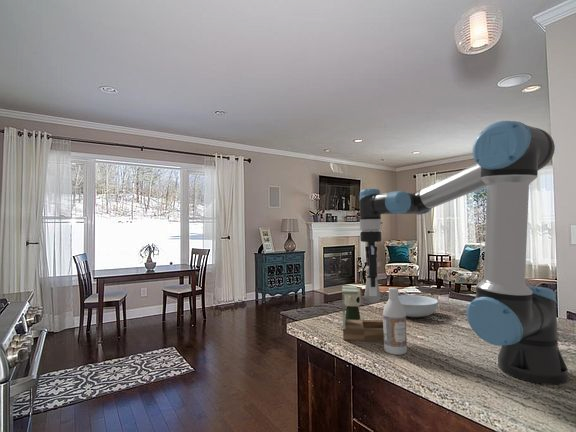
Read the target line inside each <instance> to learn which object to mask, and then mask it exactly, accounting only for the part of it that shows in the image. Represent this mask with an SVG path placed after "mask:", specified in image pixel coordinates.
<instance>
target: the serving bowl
mask: <svg viewBox="0 0 576 432" xmlns="http://www.w3.org/2000/svg"><path fill="white" fill-rule="evenodd" d="M398 299H399V301H400V303H401V304H402V306H403V307H404V310H405V314H406V318H407V317H408V318H423V317H427V316H430V315H432V314H434V313H435V312H436V311H437V309H438V307H439V300H438V299H437V298H434V297H431V296H423V295H414V294H413V295H412V294H411V295H409V294H406V295H405V294H402V295H398ZM388 300H389V298H388ZM388 300H387V301H388Z"/></svg>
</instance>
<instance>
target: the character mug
mask: <svg viewBox="0 0 576 432" xmlns="http://www.w3.org/2000/svg"><path fill="white" fill-rule="evenodd" d="M357 290H358V295H345V319H347V320H361V313H360V309H359V306H361V305H362V304H361V303H362V296H361V293H362V292H361V289H359V288H357Z"/></svg>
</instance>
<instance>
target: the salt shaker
mask: <svg viewBox="0 0 576 432" xmlns="http://www.w3.org/2000/svg"><path fill="white" fill-rule="evenodd" d="M365 272H366V274H367V275H366V280H365V288H364V289H365V290H364V293H363V295H364V298H365V301H366V303H371V304H375V303H379V301H380V299H381V291H380V287H379V283H378V276H377V277H376V278H377V296H369V278H367V276H369V266H367V265H366V267H365ZM378 272H379V269H378V268H377V273H378Z"/></svg>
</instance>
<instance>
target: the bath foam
mask: <svg viewBox="0 0 576 432" xmlns="http://www.w3.org/2000/svg"><path fill="white" fill-rule="evenodd" d="M398 296H399V288H398V287H388V299H389V300H387V302H386V303H385V305H384V307H383V312H382V320H383V330H384V342H383V349H384V352H386V353H388V354H391V355H395V356H397V355H398V356H400V355H405V354H406V353H407V351H408V346H407V344H408V343H407V341H408V340H407V337H408V336H407V316H406V314H405V310H404V307H403V306H402V304H401V303H400V301H399V299H398Z"/></svg>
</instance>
